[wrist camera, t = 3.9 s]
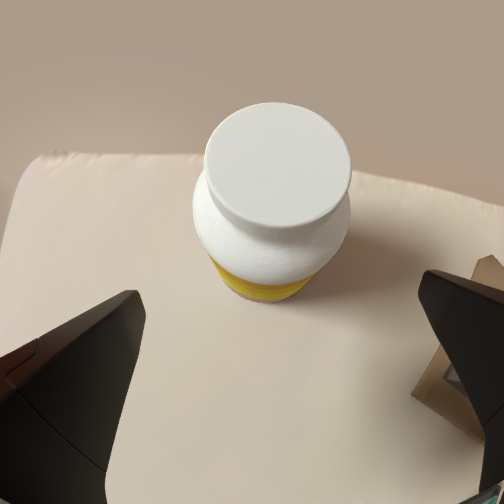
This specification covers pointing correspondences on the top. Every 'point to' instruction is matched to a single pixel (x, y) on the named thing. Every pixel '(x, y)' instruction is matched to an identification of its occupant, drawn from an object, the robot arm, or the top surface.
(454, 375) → the gray flat bar
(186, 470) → the top surface
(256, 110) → the supplement bottle
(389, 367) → the top surface
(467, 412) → the brown piece
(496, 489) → the smartphone
